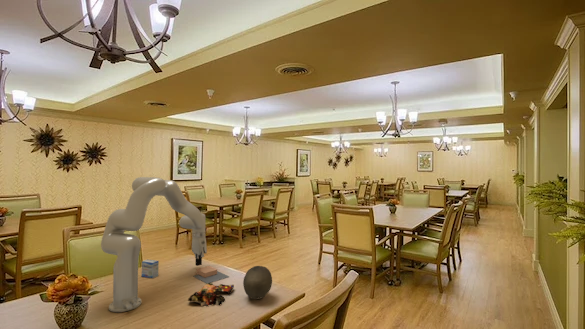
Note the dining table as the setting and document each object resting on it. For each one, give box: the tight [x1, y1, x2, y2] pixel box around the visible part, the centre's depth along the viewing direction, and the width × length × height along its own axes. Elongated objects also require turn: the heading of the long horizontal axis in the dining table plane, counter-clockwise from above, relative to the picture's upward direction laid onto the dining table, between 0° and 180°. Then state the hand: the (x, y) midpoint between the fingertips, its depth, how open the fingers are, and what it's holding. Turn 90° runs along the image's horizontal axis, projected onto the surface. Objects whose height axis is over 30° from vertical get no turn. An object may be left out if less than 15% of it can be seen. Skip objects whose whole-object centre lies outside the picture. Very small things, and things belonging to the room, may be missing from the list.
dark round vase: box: [242, 265, 273, 300], centre depth 139 cm, size 14×14×15 cm
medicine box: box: [141, 259, 160, 279], centre depth 164 cm, size 8×4×9 cm, turn 73°
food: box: [187, 283, 235, 307], centre depth 141 cm, size 22×19×4 cm
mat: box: [193, 270, 230, 285], centre depth 165 cm, size 15×14×1 cm
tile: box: [196, 265, 218, 278], centre depth 168 cm, size 3×8×9 cm
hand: (198, 264), depth 175 cm, fingers closed
